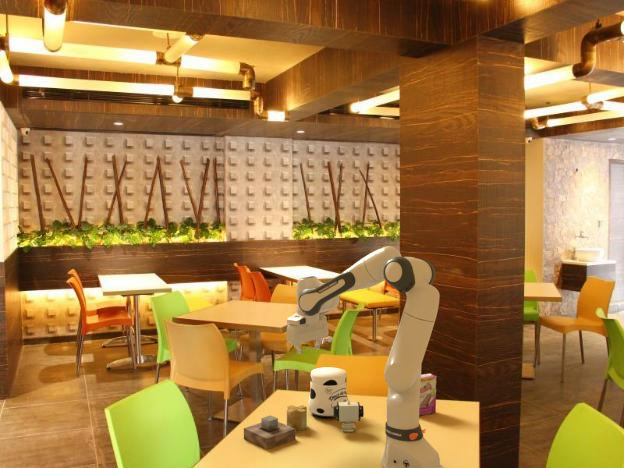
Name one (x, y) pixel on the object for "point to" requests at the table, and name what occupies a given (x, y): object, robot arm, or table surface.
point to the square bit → (269, 423)
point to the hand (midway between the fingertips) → (308, 351)
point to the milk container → (327, 390)
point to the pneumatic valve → (348, 414)
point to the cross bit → (297, 417)
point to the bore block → (269, 435)
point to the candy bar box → (427, 394)
